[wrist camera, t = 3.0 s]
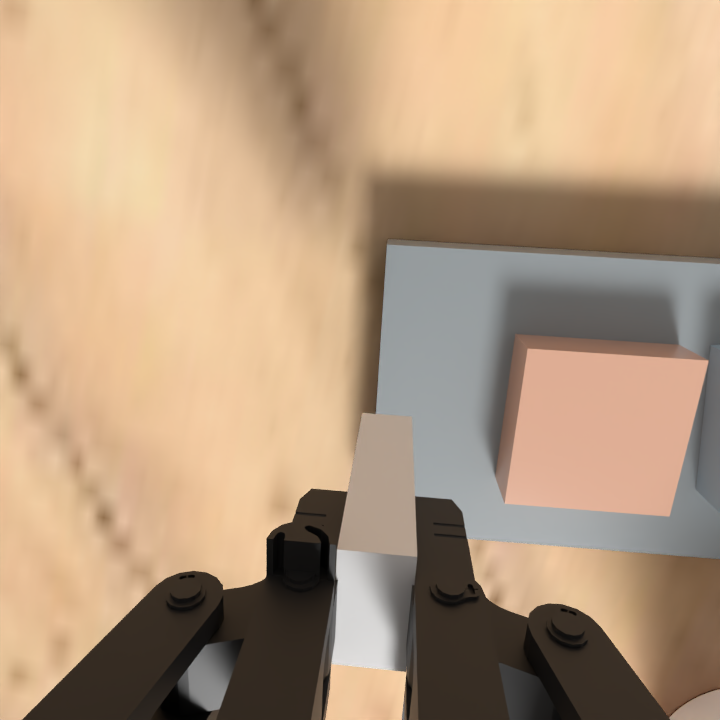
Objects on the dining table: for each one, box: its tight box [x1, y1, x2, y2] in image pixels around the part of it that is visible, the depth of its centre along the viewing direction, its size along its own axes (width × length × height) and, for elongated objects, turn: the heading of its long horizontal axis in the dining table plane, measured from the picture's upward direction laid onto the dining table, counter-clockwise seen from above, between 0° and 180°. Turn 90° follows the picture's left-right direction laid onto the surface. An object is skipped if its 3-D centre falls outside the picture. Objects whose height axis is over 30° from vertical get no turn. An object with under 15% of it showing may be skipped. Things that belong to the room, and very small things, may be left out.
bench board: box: [376, 239, 720, 559], centre depth 22 cm, size 22×12×2 cm, turn 87°
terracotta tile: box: [495, 334, 709, 517], centre depth 20 cm, size 6×6×2 cm
